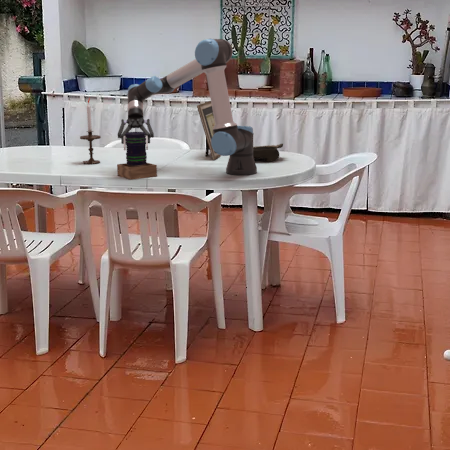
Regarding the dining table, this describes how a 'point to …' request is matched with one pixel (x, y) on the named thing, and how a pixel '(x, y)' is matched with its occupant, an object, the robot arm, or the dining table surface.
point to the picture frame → (208, 126)
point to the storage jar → (136, 148)
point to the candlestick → (90, 137)
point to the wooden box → (137, 171)
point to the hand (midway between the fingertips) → (135, 148)
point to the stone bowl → (267, 152)
